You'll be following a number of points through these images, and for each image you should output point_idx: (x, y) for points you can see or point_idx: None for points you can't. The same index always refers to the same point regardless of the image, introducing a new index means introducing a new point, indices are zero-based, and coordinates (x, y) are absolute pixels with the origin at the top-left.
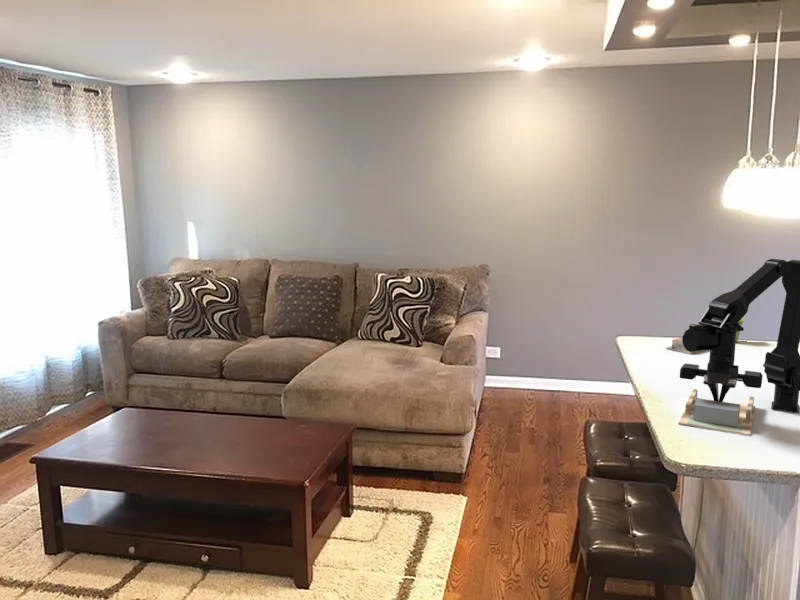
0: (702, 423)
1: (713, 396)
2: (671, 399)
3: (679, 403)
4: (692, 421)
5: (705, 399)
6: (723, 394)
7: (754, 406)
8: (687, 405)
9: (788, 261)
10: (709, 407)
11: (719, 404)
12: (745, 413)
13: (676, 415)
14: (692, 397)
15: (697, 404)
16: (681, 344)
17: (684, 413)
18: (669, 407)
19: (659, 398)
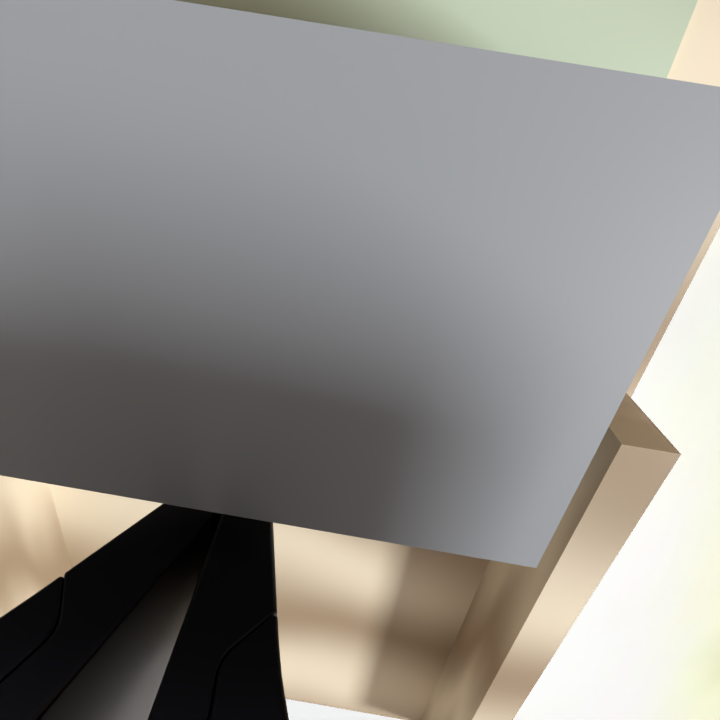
0: (469, 14)
1: (264, 600)
2: (605, 693)
3: (565, 639)
4: (608, 68)
5: (366, 709)
6: (26, 634)
7: None
8: (653, 444)
9: None
10: (359, 35)
11: (160, 358)
12: (72, 527)
13: (711, 350)
14: (505, 680)
15: (652, 192)
16: None
17: None
18: (693, 551)
19: (698, 699)
